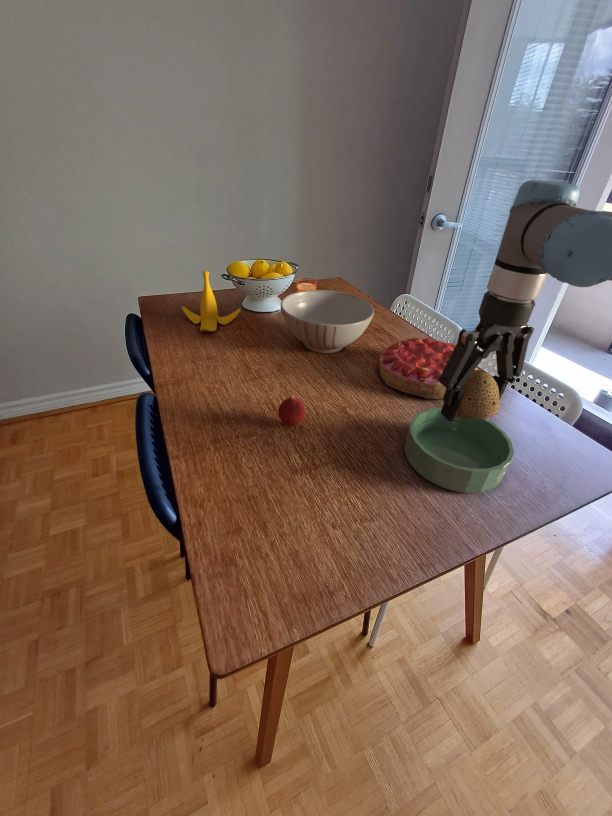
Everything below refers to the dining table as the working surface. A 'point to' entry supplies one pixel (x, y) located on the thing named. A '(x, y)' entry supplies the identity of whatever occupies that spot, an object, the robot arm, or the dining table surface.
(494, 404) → the natural sponge
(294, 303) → the decorative bowl
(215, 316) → the banana peel
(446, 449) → the green bowl
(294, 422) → the onion
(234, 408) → the dining table surface
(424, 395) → the cake
